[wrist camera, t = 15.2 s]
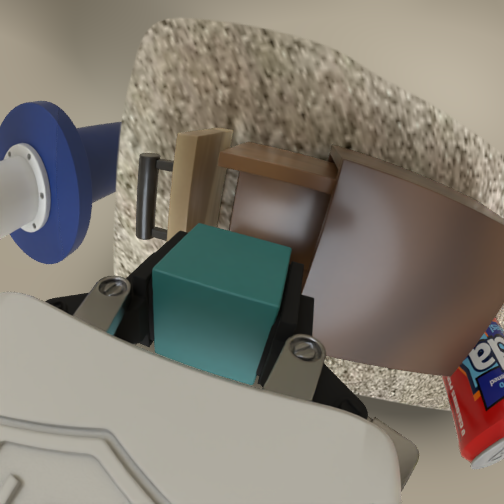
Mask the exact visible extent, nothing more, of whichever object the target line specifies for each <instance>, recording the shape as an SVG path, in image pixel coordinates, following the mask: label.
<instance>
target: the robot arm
mask: <svg viewBox="0 0 504 504" xmlns="http://www.w3.org/2000/svg"><path fill="white" fill-rule="evenodd" d="M50 204H51V193H50V185H49V180H48V175H47V172H46V169H45V166H44V164H43V161H42V159H41V157H40V156H39V154H38V153H37V151H36V150H35V149H34V148H33V147H32V146H30V145H29V144H26V143H19V144H16V145H14V146H12V147H11V148H10V149H9V150H8V152H7V153H6V155H5V157H4V160H2V161H0V239H2V238H3V237H5V236H7V235H8V234H10V233H12V232H13V231H15V230H17V229H19V228H21V229H23V230H25V231H27V232H35V231H37V230H39V229H41V228H42V227H43V226H44V225H45V223H46V222H47V219H48V217H49V212H50ZM187 234H188V232H184V231H178V232H177V233H176V234H175V235H174V236H173V237H172V238H171V239H170V240H169V241H167V242H166V243H165V244H164V245H163V246H162V247H161V248H160V249H159V250H158V251H157V252H156V253H153V254H152V255H150V256H149V257H148V258H147V259H146V260H145V261H144V262H143V263H142V264H141V265H140V266H139V267H138V268H137V269H136V270H135V271H133V272H132V273H131V274H130V275H129V276H128V277H127V278H126V279H125V278H123V277H120V276H108V277H104V278H102V279H100V280H99V281H98V282H97V283H96V284H95V286H94V287H93V289H92V290H91V291H90V292H89V293H84V294H78V295H71V296H65V297H59V298H53V299H49V300H47V301H42V300H40V299H38V298H35V297H33V296H30V295H26V294H23V293H17V292H3V293H0V504H401V491H402V489H403V488H404V486H405V485H406V483H407V481H408V479H409V477H410V476H411V474H412V472H413V470H414V468H415V466H416V464H417V462H418V459H419V451H418V449H417V447H416V445H415V444H414V443H413V442H411V441H410V440H408V439H407V438H405V437H404V436H402V435H401V434H399V433H398V432H396V431H395V430H393V429H392V428H390V427H389V426H387V425H386V424H385V423H383V422H382V421H380V420H379V419H377V418H376V417H375V418H374V419H371V418H370V417H369V416H368V412H367V409H366V407H365V405H364V404H363V403H362V402H361V401H360V400H359V399H358V398H357V397H356V396H355V395H354V394H353V393H352V391H351V390H350V389H349V388H348V387H347V386H346V385H345V384H344V383H343V382H342V381H341V380H340V379H339V378H338V377H337V376H336V375H335V374H334V373H333V372H332V371H331V370H330V369H329V368H328V367H327V366H326V365H325V364H324V360H325V357H326V350H325V347H324V345H323V344H322V343H321V342H320V341H319V340H318V339H317V338H315V337H313V336H312V332H313V316H314V298H312V297H309V296H305V295H301V289H302V280H303V271H304V264H301V263H297V262H294V261H292V262H291V264H289V266H288V271H287V276H286V281H285V286H284V291H283V295H282V300H281V305H280V309H279V312H278V315H277V318H276V321H275V323H274V324H273V325H272V327H271V329H270V332H269V335H268V338H267V341H266V344H265V347H264V350H263V353H262V356H261V359H260V362H259V365H258V368H257V371H256V375H258V376H259V380H258V384H261V386H262V387H263V388H262V389H260V388H256V387H252V386H248V385H245V384H241V383H238V382H235V381H232V380H228V379H225V378H222V377H219V376H216V375H212V374H209V373H207V372H204V371H201V370H198V369H195V368H192V367H189V366H187V365H184V364H181V363H178V362H175V361H173V360H170V359H167V358H165V357H163V356H160V355H157V354H155V353H152V352H150V351H148V350H145V349H143V348H140V347H138V346H136V344H137V343H140V344H143V345H146V346H147V347H150V345H151V344H152V342H153V341H154V340H155V336H154V309H153V287H152V270H153V267H154V266H155V265H156V264H157V263H158V262H159V261H160V260H161V259H162V258H163V257H164V256H165V255H166V254H167V253H168V252H169V251H170V250H171V249H172V248H173V247H174V246H175V245H176V244H177V243H178V242H180V241H181V240H182V239H183V238H184V237H185V236H186V235H187Z"/></svg>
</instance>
